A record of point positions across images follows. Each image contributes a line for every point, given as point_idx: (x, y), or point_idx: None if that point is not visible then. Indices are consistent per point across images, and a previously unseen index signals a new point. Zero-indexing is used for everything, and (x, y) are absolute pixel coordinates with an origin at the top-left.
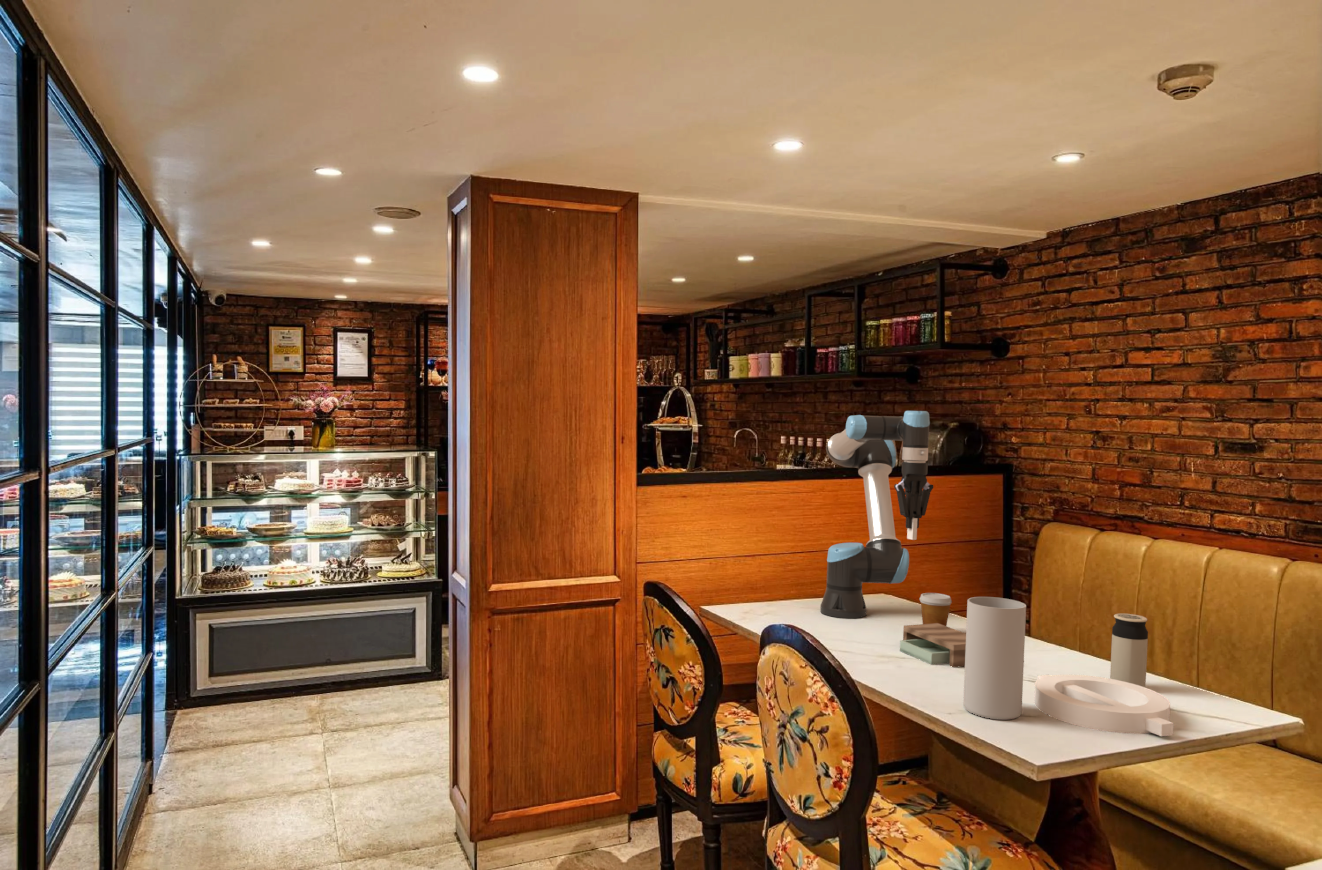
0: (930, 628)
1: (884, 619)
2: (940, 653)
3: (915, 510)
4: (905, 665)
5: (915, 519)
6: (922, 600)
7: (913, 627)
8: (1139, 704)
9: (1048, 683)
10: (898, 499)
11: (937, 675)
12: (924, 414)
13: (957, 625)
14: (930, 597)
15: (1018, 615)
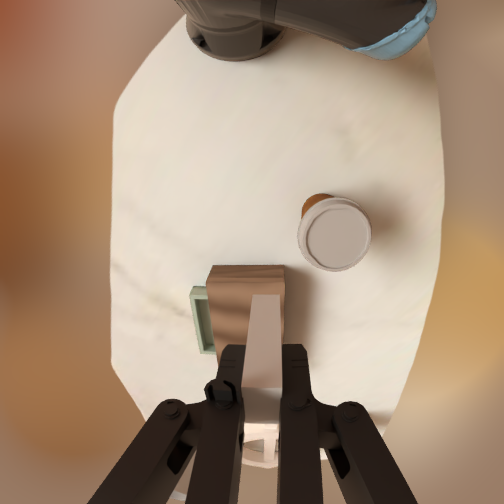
0: (243, 309)
1: (298, 78)
2: (214, 354)
3: (279, 458)
4: (169, 336)
5: (264, 417)
6: (298, 234)
7: (216, 297)
8: None
9: (245, 439)
10: (97, 497)
11: (188, 369)
12: None
13: (410, 167)
14: (319, 240)
15: (178, 495)
